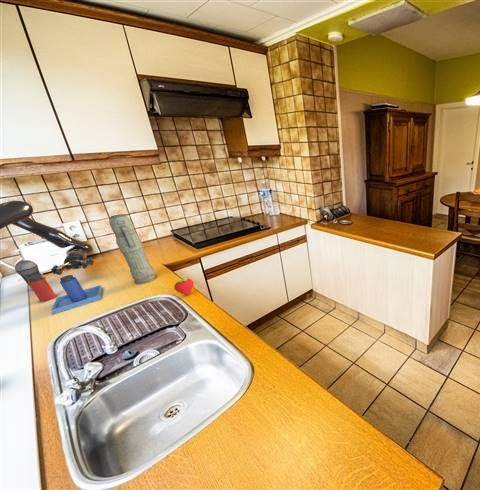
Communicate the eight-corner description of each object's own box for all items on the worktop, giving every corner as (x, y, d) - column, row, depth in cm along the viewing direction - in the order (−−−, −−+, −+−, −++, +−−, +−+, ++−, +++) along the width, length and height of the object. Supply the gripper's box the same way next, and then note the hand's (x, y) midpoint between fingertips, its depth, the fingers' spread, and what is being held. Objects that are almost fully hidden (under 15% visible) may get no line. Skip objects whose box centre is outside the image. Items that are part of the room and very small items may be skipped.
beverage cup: (25, 290, 135) (2, 255, 127) (45, 283, 142) (24, 249, 134) (32, 292, 133) (8, 256, 125) (52, 285, 139) (31, 250, 131)
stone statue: (140, 286, 133) (109, 219, 119) (131, 280, 139) (100, 216, 125) (160, 278, 139) (133, 214, 125) (150, 273, 145) (124, 211, 131)
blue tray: (53, 314, 115) (51, 310, 114) (58, 301, 124) (56, 297, 123) (100, 299, 123) (98, 295, 123) (102, 288, 133) (100, 285, 132)
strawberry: (176, 296, 122) (169, 277, 118) (194, 288, 127) (188, 270, 123) (180, 300, 119) (172, 281, 115) (198, 293, 124) (192, 274, 120)
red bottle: (39, 303, 123) (24, 281, 118) (41, 298, 127) (27, 277, 122) (55, 298, 126) (41, 276, 121) (57, 294, 130) (43, 273, 125)
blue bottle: (70, 304, 120) (56, 281, 115) (72, 299, 124) (59, 277, 119) (86, 299, 123) (73, 276, 118) (87, 294, 127) (75, 273, 122)
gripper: (52, 257, 134) (45, 268, 123) (91, 249, 142) (88, 258, 131) (60, 270, 137) (54, 282, 126) (97, 261, 145) (95, 271, 134)
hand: (71, 270), depth 128 cm, fingers open, 8 cm apart
